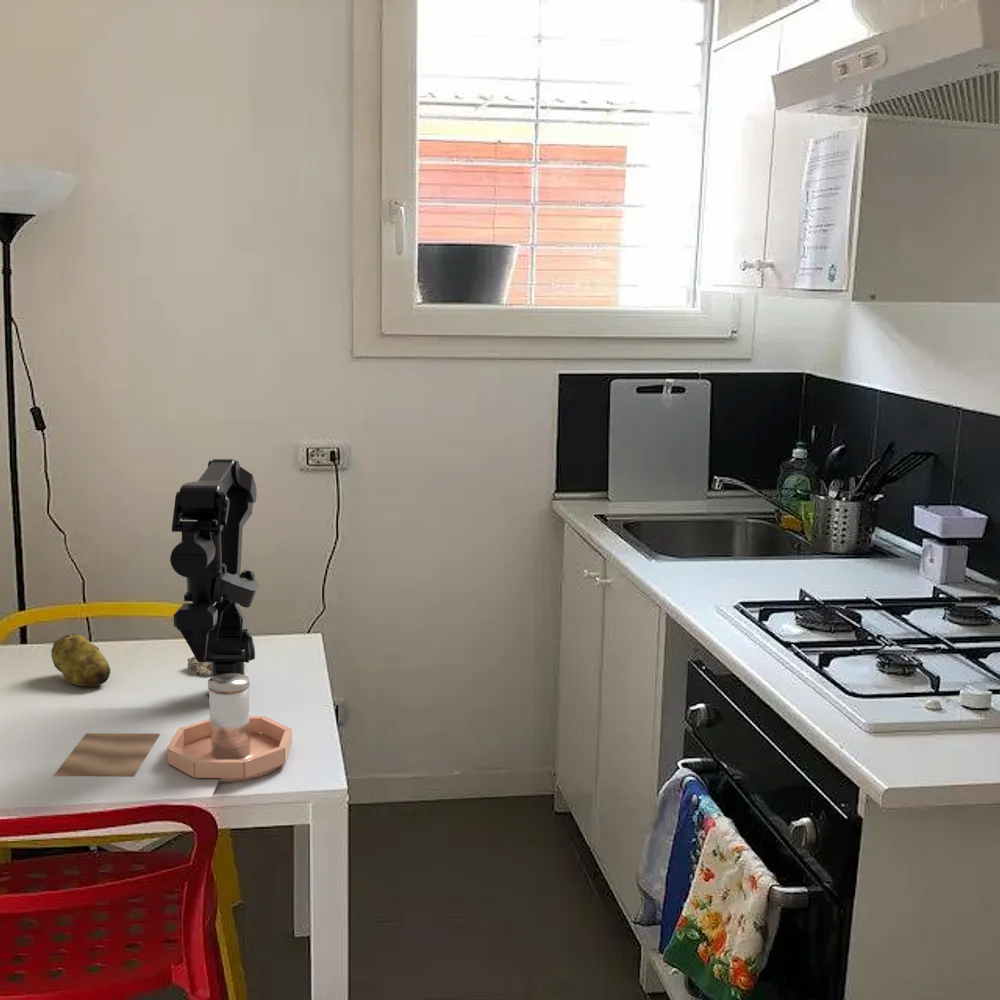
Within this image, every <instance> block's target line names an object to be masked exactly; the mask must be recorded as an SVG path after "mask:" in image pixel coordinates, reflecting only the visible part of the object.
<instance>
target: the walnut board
mask: <svg viewBox="0 0 1000 1000" xmlns="http://www.w3.org/2000/svg"><path fill="white" fill-rule="evenodd" d="M160 735H161V733H115V732H114V733H107V732H105V733H104V732H103V733H101V732H100V733H99V732H98V733H95V732H94V733H89V732H88V733H85V734H84V735H83V737H82V738H81V740H79V742H78V743H77V745H76V746H75V747H74V748H73V750H72V751H71V752H70V753H69V755H68V756H67V757H66V759H65V760H64V761H63V762H62V764H61V765H60V766H59V768H57V771H55V773H54V774H53V777H135V776H136V774H137V773H138V770H139V769H140V767H141V766H142V764H143V763H144V761H145V759H146V758H147V756H148V754H149V753H150V751H151V750H152V748H153V746H154V745H155V743H156V742H157V740H158V738H160Z"/></svg>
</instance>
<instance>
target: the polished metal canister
mask: <svg viewBox="0 0 1000 1000" xmlns="http://www.w3.org/2000/svg"><path fill="white" fill-rule="evenodd" d="M249 682H250V678H249V676H247V675H243V674H237V673H227V674H220V675H216V676H214V677H212V676H211V677H210V678H209V679H208V680H207V688H208V692H209V697H208V699H209V701H208V702H209V719H210V729H211V754H212V757H213V758H215V759H218V760H239V759H242V758H245V757H247V756H248V755H249V754H250V752H251V747H250V716H251V715H250V695H249V693H250V692H249V691H250V689H249V687H250V685H249Z"/></svg>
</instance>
